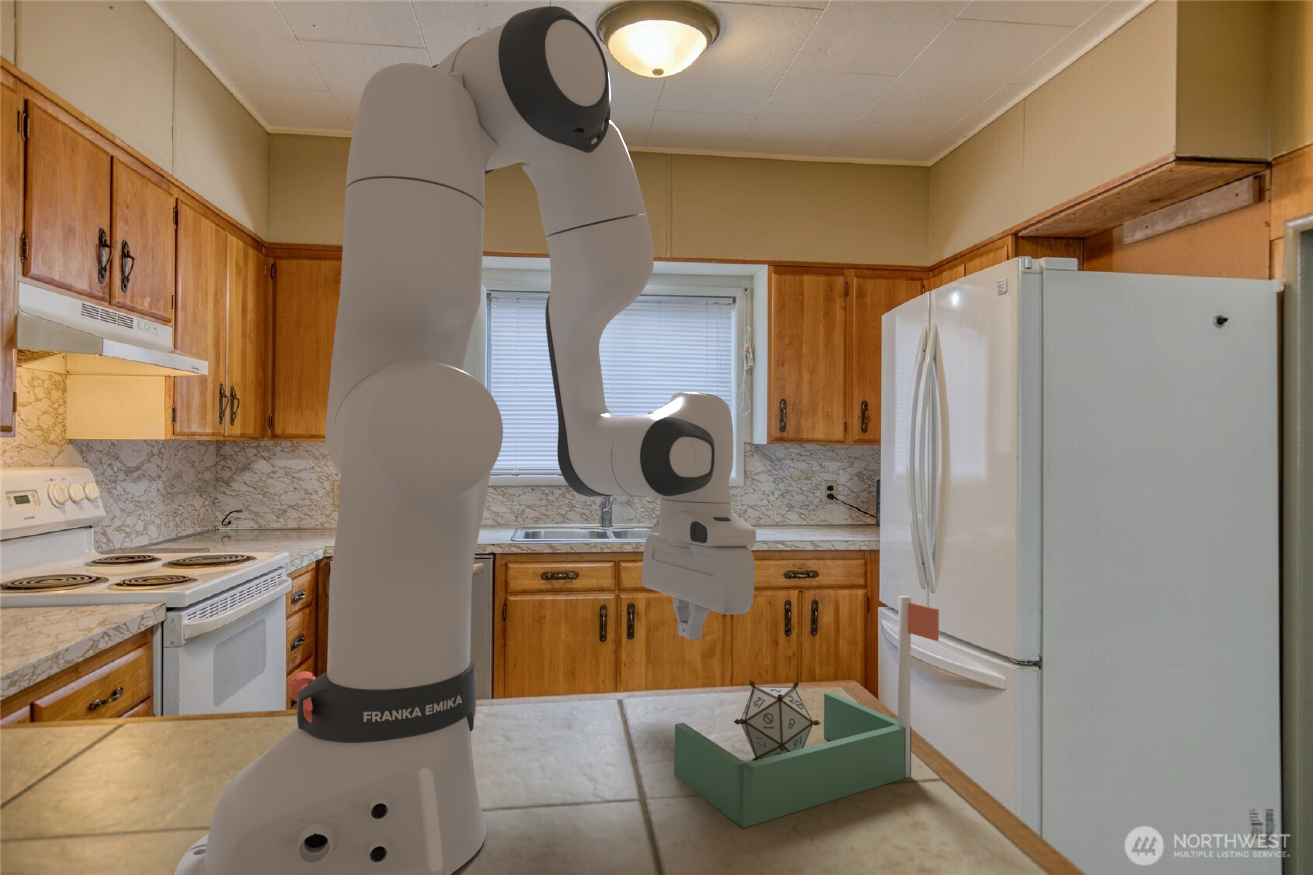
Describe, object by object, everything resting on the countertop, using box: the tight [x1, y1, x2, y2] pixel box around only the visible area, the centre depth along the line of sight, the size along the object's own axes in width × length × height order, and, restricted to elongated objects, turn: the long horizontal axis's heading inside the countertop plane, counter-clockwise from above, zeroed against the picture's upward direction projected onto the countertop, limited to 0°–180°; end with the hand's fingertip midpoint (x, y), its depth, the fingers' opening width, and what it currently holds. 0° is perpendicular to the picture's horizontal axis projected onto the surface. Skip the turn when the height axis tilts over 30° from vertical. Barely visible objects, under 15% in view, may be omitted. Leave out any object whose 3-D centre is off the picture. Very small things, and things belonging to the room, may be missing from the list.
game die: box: [733, 679, 822, 761], centre depth 74 cm, size 9×8×10 cm
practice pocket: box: [673, 595, 940, 829], centre depth 69 cm, size 21×15×18 cm
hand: (689, 637), depth 86 cm, fingers closed
